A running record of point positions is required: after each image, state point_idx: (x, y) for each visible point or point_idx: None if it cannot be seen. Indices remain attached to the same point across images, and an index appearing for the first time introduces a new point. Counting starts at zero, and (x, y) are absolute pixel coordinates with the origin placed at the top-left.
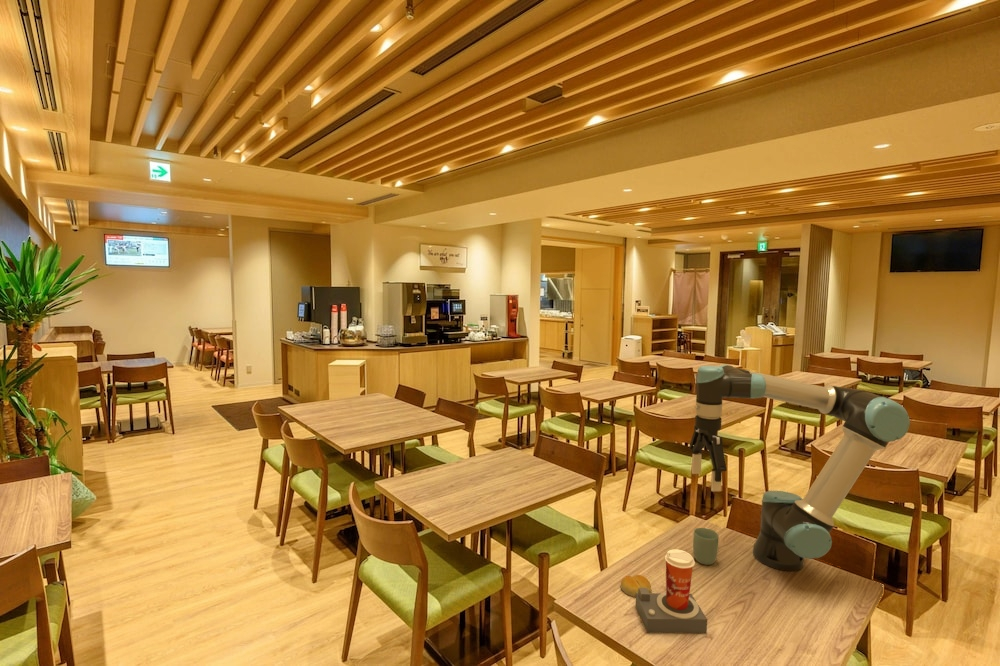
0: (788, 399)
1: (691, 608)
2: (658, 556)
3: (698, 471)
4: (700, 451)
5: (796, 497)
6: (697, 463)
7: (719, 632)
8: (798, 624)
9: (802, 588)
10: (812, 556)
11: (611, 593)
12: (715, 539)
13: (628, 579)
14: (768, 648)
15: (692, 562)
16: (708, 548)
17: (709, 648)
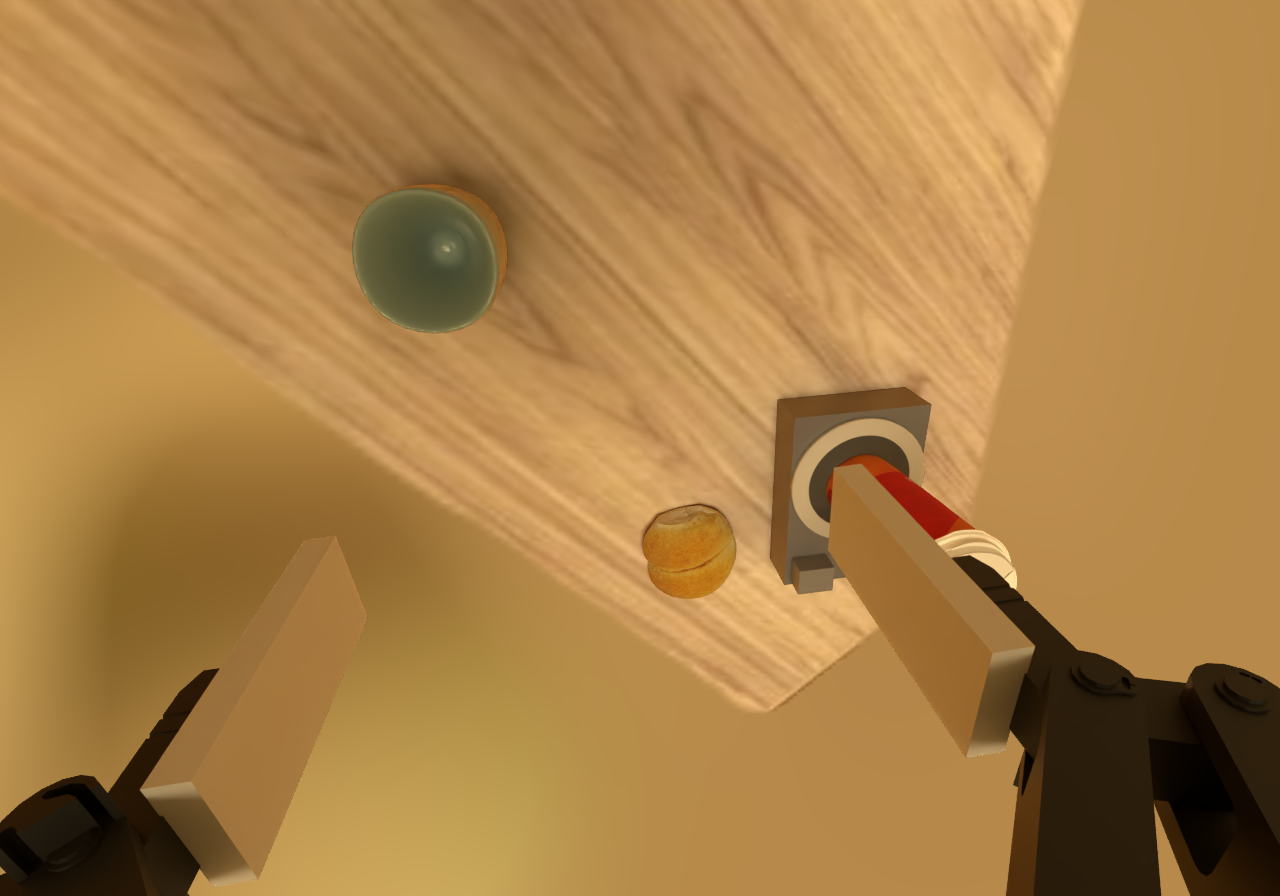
0: None
1: (888, 446)
2: (455, 438)
3: (334, 582)
4: (140, 861)
5: None
6: (295, 683)
7: (906, 344)
8: None
9: None
10: None
11: (709, 611)
12: (487, 228)
13: (698, 591)
14: (998, 206)
15: (1000, 550)
16: (504, 262)
17: (962, 398)
